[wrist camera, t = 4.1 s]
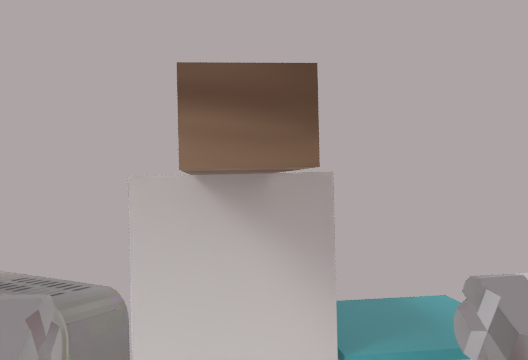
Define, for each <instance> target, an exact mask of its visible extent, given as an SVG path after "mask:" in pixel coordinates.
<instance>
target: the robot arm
mask: <svg viewBox="0 0 528 360" xmlns="http://www.w3.org/2000/svg"><path fill="white" fill-rule="evenodd" d="M462 291H463V293H464V295H465V297H466V298H467V299H466V300H465V301H463V302H462V303H461V304H460V305H459V306H458V307H457V309H456V312H455V316H454V333H455V336H456V339H457V342H458V344H459V346H460V348H461V350H462V352H463V353H464V354H465V355H466V356H468V357H469V358H471V359H472V360H528V273H518V274H502V275H484V276H470V277H469V278H468V279H467V280H466V282H465V284H464V287H463V290H462ZM55 310H56V309H55V306H54V302H53V299H52V296H50V295H48V294H32V295H0V360H61V357H62V335H61V331H60V327H59V326H58V325H57V324H55V323H54V322H53V321H52V318H53V315H54V313H55Z"/></svg>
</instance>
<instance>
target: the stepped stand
mask: <svg viewBox="0 0 528 360" xmlns="http://www.w3.org/2000/svg"><path fill="white" fill-rule="evenodd" d="M333 183H334V182H333V172H302V173H254V174H208V175H164V176H163V175H162V176H128V197H129V241H130V282H131V284H130V285H131V323H132V324H131V326H132V327H131V328H132V360H472V359H471V358H469V357H468V356H466V355H465V354H464V353H463V352H462V350H461V348H460V346H459V344H458V342H457V339H456V336H455V333H454V316H455V312H456V309H457V307H458V306H459V305H460V304H461V303H460V302H458V301H456V300H454V299H452V298H450V297H448V296H446V295H440V296H421V297H402V298H384V299H365V300H347V301H336V269H335V224H334V185H333Z"/></svg>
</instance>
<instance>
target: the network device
mask: <svg viewBox="0 0 528 360" xmlns="http://www.w3.org/2000/svg"><path fill="white" fill-rule="evenodd" d="M32 294H48V295H50V296H52V299H53V302H54V306H55V309H56V310H55V313H54V315H53V318H52V321H53V322H54V323H55V324H57V325H58V326H59V327H60V331H61V335H62V357H61V360H130V358H129V357H130V354H129V318H128V312H127V308H126V305H125V302H124V300H123V299H122V297H121V296H120V294H119V293H118V292H117V291H116V290H114V289H113V288H111V287H108V286H101V285H94V284H87V283H80V282H73V281H66V280H59V279H51V278H46V277H38V276H31V275H25V274H18V273H11V272H4V271H0V295H32Z"/></svg>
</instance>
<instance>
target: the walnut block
mask: <svg viewBox="0 0 528 360" xmlns="http://www.w3.org/2000/svg"><path fill="white" fill-rule="evenodd" d="M177 92H178V135H179V170H182V171H184V172H186V173H188V174H190V175H208V174H254V173H278V172H285V171H293V170H300V169H307V168H315V167H319V166H320V164H319V124H318V123H319V121H318V79H317V63H179V62H178V63H177Z"/></svg>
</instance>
